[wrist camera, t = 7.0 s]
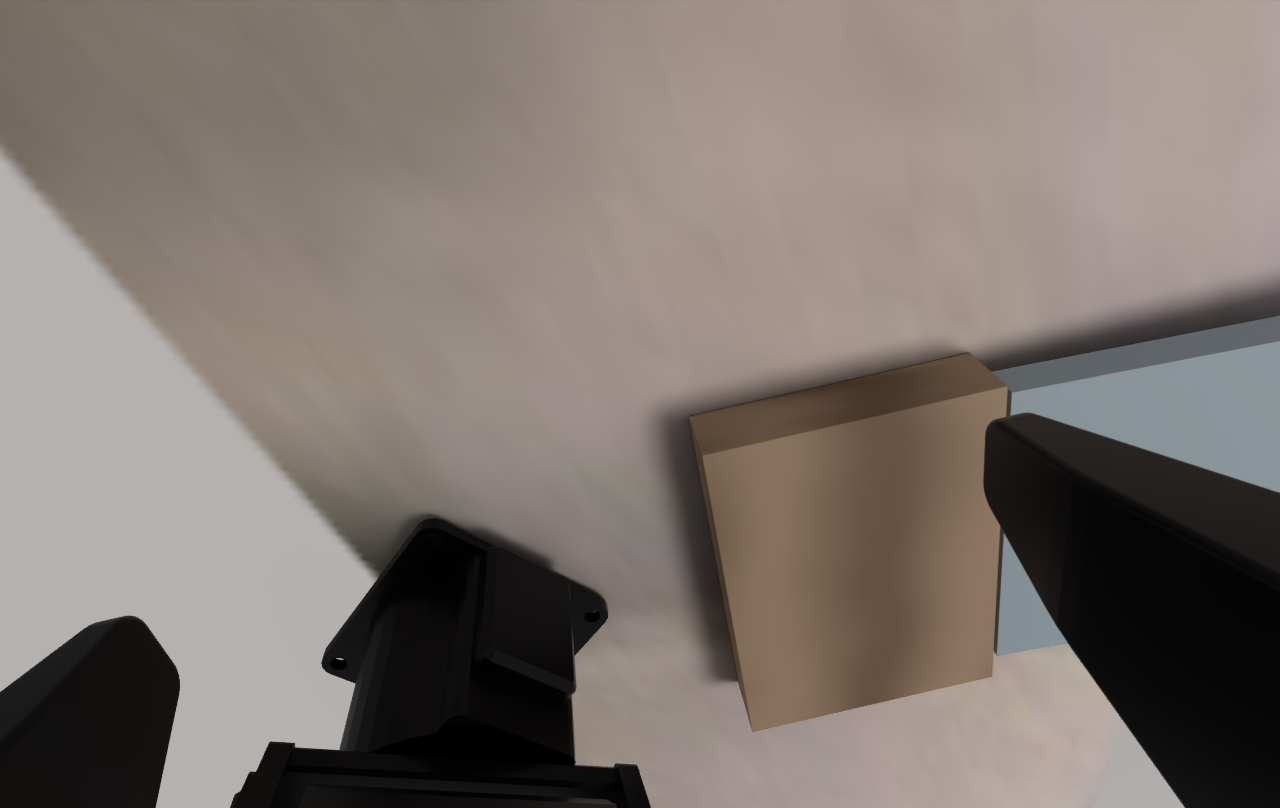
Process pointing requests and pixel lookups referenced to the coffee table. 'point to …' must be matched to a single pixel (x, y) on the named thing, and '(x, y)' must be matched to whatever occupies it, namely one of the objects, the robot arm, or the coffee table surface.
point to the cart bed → (855, 537)
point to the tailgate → (1151, 426)
